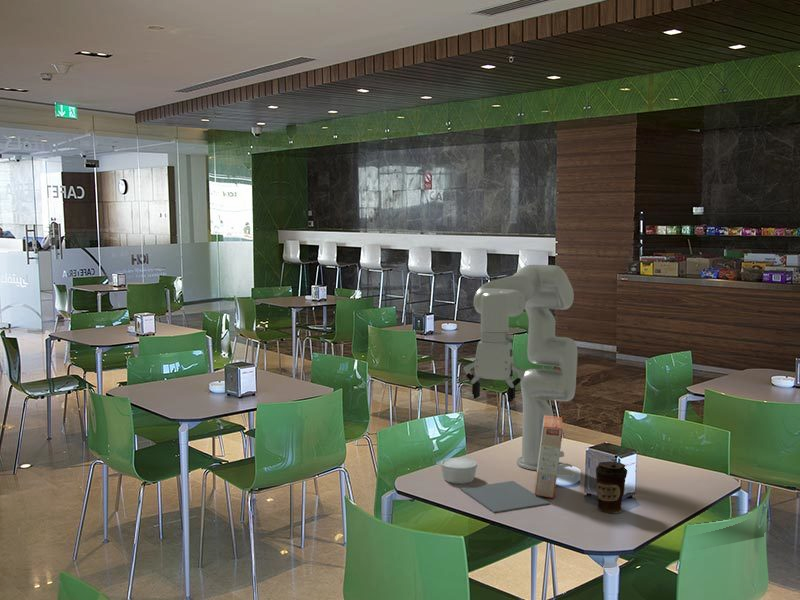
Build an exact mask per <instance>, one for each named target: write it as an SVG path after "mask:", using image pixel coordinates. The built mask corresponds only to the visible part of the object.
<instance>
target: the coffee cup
mask: <svg viewBox="0 0 800 600" xmlns="http://www.w3.org/2000/svg"><path fill="white" fill-rule="evenodd" d="M625 467H626V465H625V464H624V463H622V462H620V461H599V462H598V465H597V466H596V467H595V474H596V476H595V477H596V479H595V480H596V498H597V509H598V511H601V512H604V513H608V514H618V513H620V514H621V512H623V509H622V501H623V497H624V495H625V486H626V478H627V475H628V469H627V468H625Z"/></svg>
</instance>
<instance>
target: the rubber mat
mask: <svg viewBox="0 0 800 600" xmlns="http://www.w3.org/2000/svg"><path fill="white" fill-rule="evenodd" d="M459 490H460V491H462V492H463V493H464V492H465V493H464V494H466V495H467V496H469V497H470V498H472V499H473V500H475V502H477V503H479V504H480V505H481V506H483V507H485V508H486V509H487V510H489V511H490V512H492V513H493V514H496V513H497V514H498V513H503V511H504V512H509V511H514V510H522V509H529V508H534V507H535V508H536V507H540V506H546V505H547V504H548V505H551V504H550V503H551V502H549V501H547V500H546V499H544V498H543V497H542V496H537V495H535V492H532V491H531V490H529V489H528V488H526V487H524V486H523V485H521V484H519V483H518V482H516V481H514V480H511V481H504V482H496V483H489V484H488V483H487V484H481V485H475V486H467V487H460V489H459Z"/></svg>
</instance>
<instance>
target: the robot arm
mask: <svg viewBox="0 0 800 600" xmlns="http://www.w3.org/2000/svg"><path fill="white" fill-rule="evenodd" d="M574 294H575V293H574V289H573V286H572V284H571V282H570V279H569V277H568V275H567V274H566V272H565V270H563V268H561V266H559V265H556V264H555V265H553V264H527V265H525V266H523V267H521V268H520V269H519V270H518V271H517V272H515V273H513V275H509V276H505V277H503V278H499V279H493V280H490V281H488V282H485V283H484V284H482V285H481V286H480V287H479V288H478V289H477V291H475V294H474V296H473V307H474V310H475V312H477V314H480V341H478V343H477V346H476V352H475V359H474V361H473V362H472V363H469V364H467V365H465V366H464V367H463V371H464V373H465V375H466V378H467V379H468V380H469V381H470V384H471V386H472V389H471V392H472V395H473V399H476V400H477V399H478V398H479V397H481V393H480V392H481V383H480V382H479V381H480V380H481V379H483V380H484V379H486V380H493V381H494V380H496V381H505V382H506V383H507V385H508V386H509V387H507V402H508V403H511V402H514V399H515V398H516V386H518V384H519V383H520V390H521V397H522V439H521V440H522V441H521V456H520V457H518V458H517V459H516V464H517V466H519V467H521V468H523V469H527V470H530V471H531V470H532V471H533V470H534V471H537V466H538V458H539V450H540V442H541V434H542V427H543V420H544V415H548V416H553V410H552V408H551V405H550V404H549V403H548V401H556V402H569V401H572V400H573V399H574V397H575V393H576V387H577V371H578V346H577V343H576V341H575V340H574V339H572V338H570V337H564V336H563V337H562V336H556V319H555V317H554V315H553V313H552V312H551V311H550V310H559V311H560V310H562V311H563V310H568V309H569V308H570V307H572V305H573V303H574V298H575V297H574V296H575V295H574ZM524 310H525V312H526V315H527V318H528V334H527V352H526V355H527V359H528V362H530V363H531V364H535V365H538V366H539V365H540V366H546V367H549V366H550V367H558V368H560V370H552V369H545V368H544V369H543V368H542V369H541V368H529V369H527V370H523V369H521V368H520V367H518V366H517V365H515V363H514V352H513V351H514V350H513V345H512V344H513V343H512V342H509V341H511V340H514V334H511V333H510V330H509V328H510V327H509V324H510V322H509V319H510V318H509V317H518V316H520V315H521V314H522V313H523V312H524ZM473 368H474V374H473V373H472V372H471V371H472V370H471V369H473ZM515 373H516V374H517V377H516V378H514V375H515ZM563 457H565V452H564V450H560V456H559V458H563Z"/></svg>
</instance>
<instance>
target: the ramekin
mask: <svg viewBox="0 0 800 600" xmlns="http://www.w3.org/2000/svg"><path fill="white" fill-rule="evenodd" d="M440 467H441V473H442V477H443V479H444V481H446V482H448V483H450V482H451V483H452V484H458V483H460V484H461V483H462V484H468V483H471V482H472V481H473V480H474V479H475V476H476V470H477V468H478V462H477V461H476V460H474V459H471V458H467V457H450V458H445V459H443V460H442V461H440ZM451 483H450V484H451Z"/></svg>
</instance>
